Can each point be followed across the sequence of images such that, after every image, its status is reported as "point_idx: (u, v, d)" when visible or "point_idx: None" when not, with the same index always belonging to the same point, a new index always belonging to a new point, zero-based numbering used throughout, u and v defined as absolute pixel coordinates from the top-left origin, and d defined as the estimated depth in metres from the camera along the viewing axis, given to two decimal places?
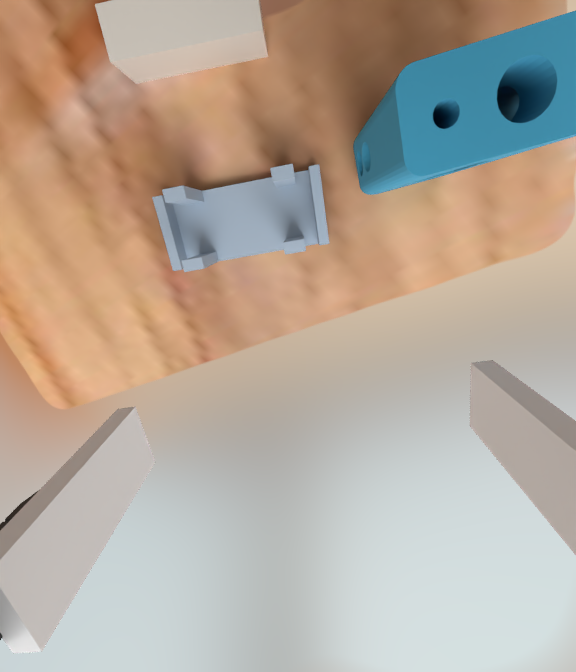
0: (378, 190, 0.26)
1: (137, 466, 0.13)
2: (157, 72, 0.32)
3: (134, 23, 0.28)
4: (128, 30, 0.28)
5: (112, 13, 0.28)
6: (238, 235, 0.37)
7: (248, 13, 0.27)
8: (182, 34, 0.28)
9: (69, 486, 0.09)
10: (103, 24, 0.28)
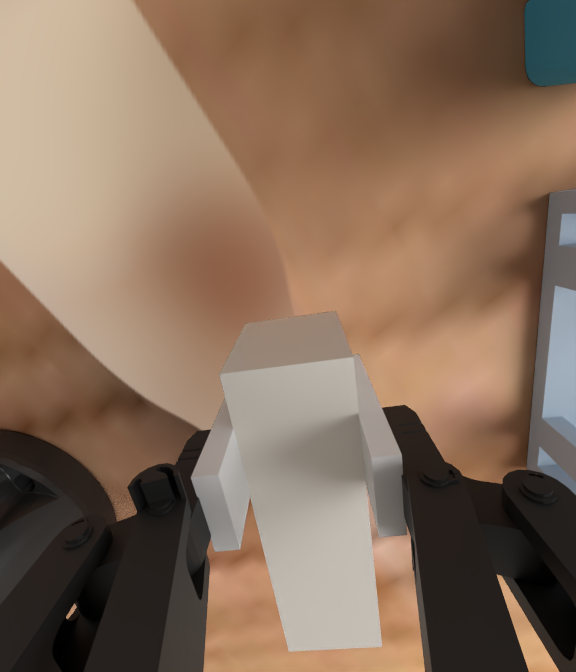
0: None
1: None
2: None
3: (321, 604, 0.13)
4: (332, 614, 0.13)
5: (303, 632, 0.14)
6: None
7: (314, 391, 0.10)
8: (346, 530, 0.12)
9: None
10: (320, 646, 0.14)
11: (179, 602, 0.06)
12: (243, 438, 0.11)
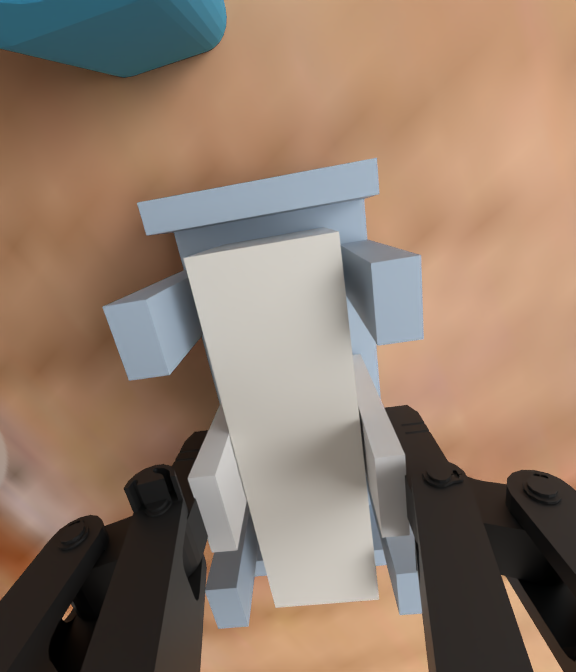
0: None
1: None
2: None
3: (309, 549, 0.12)
4: (322, 561, 0.12)
5: (291, 583, 0.12)
6: None
7: (294, 278, 0.09)
8: (336, 457, 0.10)
9: None
10: (310, 600, 0.13)
11: (175, 603, 0.06)
12: (214, 341, 0.09)
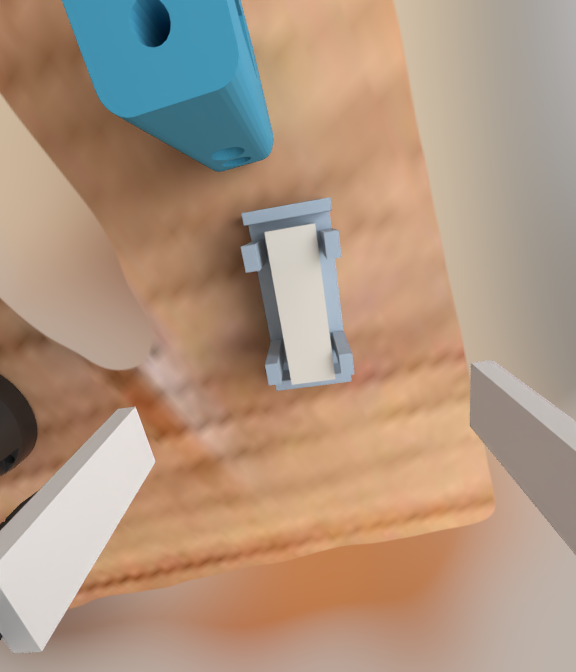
0: (266, 132, 0.19)
1: (137, 466, 0.13)
2: None
3: (306, 353, 0.29)
4: (311, 359, 0.29)
5: (298, 371, 0.30)
6: None
7: (300, 239, 0.26)
8: (316, 308, 0.28)
9: (69, 486, 0.09)
10: (306, 380, 0.30)
11: None
12: (272, 261, 0.27)
